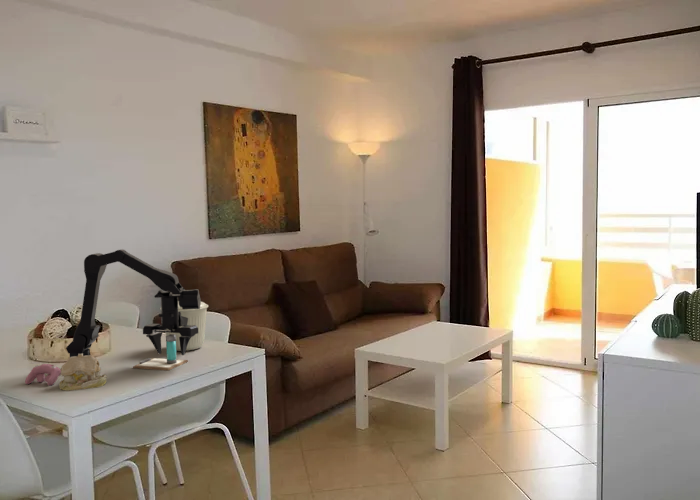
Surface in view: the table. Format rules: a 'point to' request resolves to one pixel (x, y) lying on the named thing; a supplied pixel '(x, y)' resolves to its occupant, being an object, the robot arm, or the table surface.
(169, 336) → the marker
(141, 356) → the table surface
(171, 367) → the clipboard
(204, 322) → the canister
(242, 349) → the table surface
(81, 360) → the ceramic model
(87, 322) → the robot arm
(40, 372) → the pink lumpy arch
